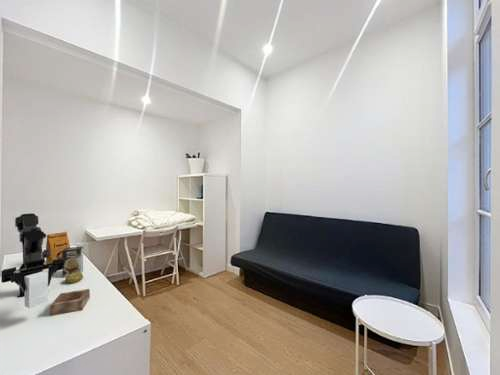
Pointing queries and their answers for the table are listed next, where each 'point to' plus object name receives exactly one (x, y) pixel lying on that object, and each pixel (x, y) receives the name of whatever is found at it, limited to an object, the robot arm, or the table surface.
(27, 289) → the skincare box
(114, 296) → the table surface
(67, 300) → the walnut socket block
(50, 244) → the coffee package
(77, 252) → the coffee box
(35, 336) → the table surface
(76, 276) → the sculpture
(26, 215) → the robot arm
